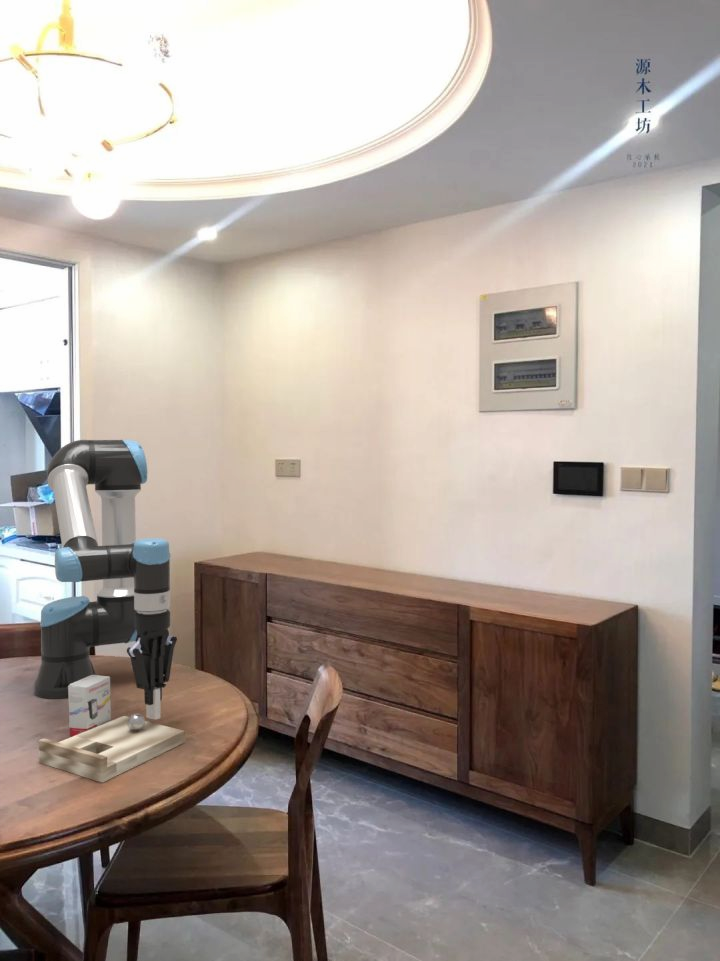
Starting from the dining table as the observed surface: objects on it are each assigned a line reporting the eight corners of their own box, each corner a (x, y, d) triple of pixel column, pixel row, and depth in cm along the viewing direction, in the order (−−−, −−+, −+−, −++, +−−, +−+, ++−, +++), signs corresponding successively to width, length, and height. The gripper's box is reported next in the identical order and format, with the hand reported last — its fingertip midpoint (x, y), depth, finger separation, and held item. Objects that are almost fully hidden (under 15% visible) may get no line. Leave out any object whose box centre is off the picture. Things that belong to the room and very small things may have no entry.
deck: (39, 762, 147) (38, 740, 147) (124, 726, 166) (124, 706, 166) (102, 782, 138) (102, 758, 138) (184, 742, 158) (184, 721, 157)
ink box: (87, 742, 158) (86, 687, 157) (67, 739, 159) (66, 685, 159) (112, 727, 166) (112, 675, 165) (93, 725, 167) (92, 673, 167)
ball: (123, 731, 157) (123, 715, 157) (136, 726, 160) (136, 709, 160) (135, 735, 155) (135, 718, 155) (148, 729, 158) (148, 712, 158)
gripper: (142, 618, 153) (143, 730, 154) (186, 606, 165) (187, 711, 166) (116, 614, 157) (118, 724, 158) (161, 603, 168) (162, 705, 169)
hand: (153, 717), depth 162 cm, fingers closed
